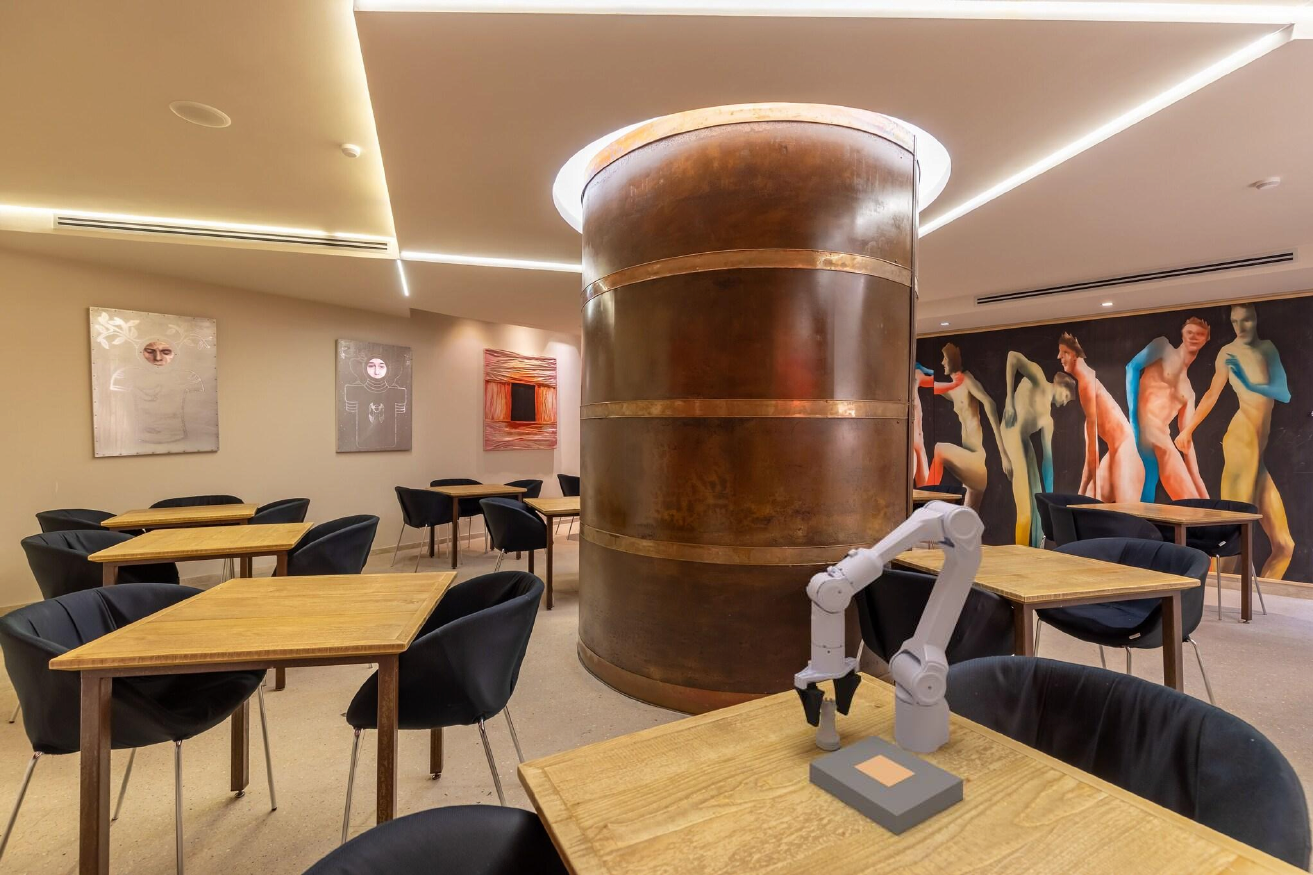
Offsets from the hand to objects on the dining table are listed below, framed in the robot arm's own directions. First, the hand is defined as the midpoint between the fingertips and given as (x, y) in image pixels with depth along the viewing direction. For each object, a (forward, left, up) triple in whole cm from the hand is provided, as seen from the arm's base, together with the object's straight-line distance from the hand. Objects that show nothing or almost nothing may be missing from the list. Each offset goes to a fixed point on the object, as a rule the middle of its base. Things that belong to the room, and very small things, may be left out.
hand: (827, 718), depth 108 cm
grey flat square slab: (+3, +14, -5) cm, 15 cm away
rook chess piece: (0, 0, -5) cm, 5 cm away
